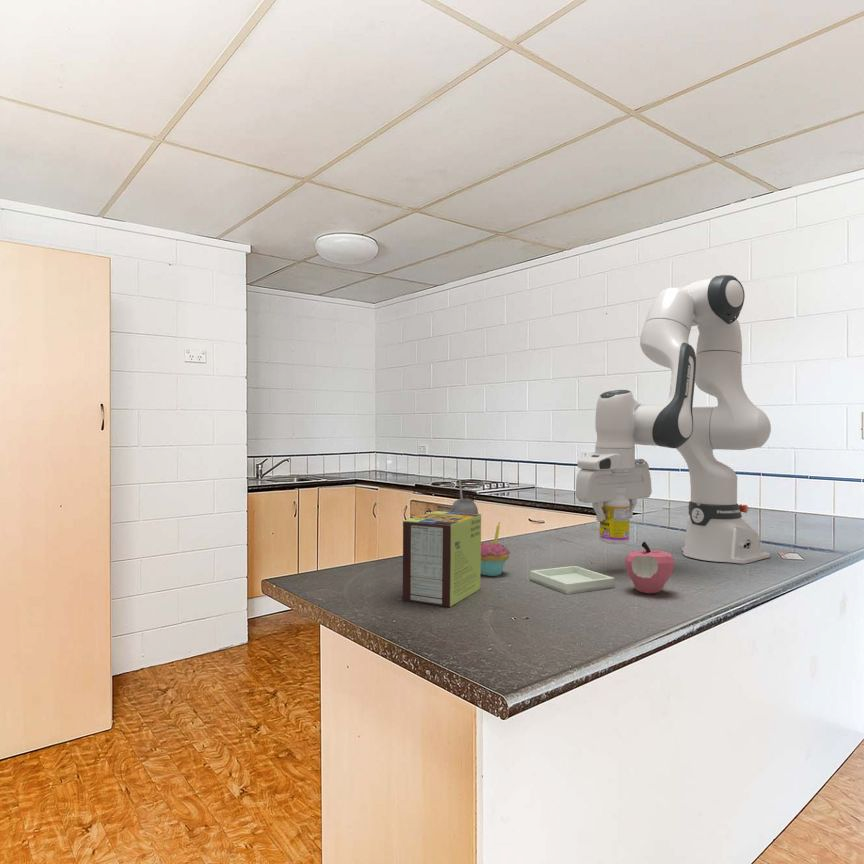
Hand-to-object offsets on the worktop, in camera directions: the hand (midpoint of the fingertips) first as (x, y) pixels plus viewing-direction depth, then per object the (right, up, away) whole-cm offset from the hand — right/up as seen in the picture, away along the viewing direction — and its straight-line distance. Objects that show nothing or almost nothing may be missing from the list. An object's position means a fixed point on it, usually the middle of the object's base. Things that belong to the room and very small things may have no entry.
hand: (614, 519), depth 147 cm
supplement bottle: (0, -5, 0) cm, 5 cm away
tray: (-13, -12, -12) cm, 21 cm away
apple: (+2, -13, -18) cm, 22 cm away
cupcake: (-29, -12, -3) cm, 32 cm away
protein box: (-40, -12, -21) cm, 47 cm away
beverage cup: (-35, -12, +10) cm, 38 cm away
